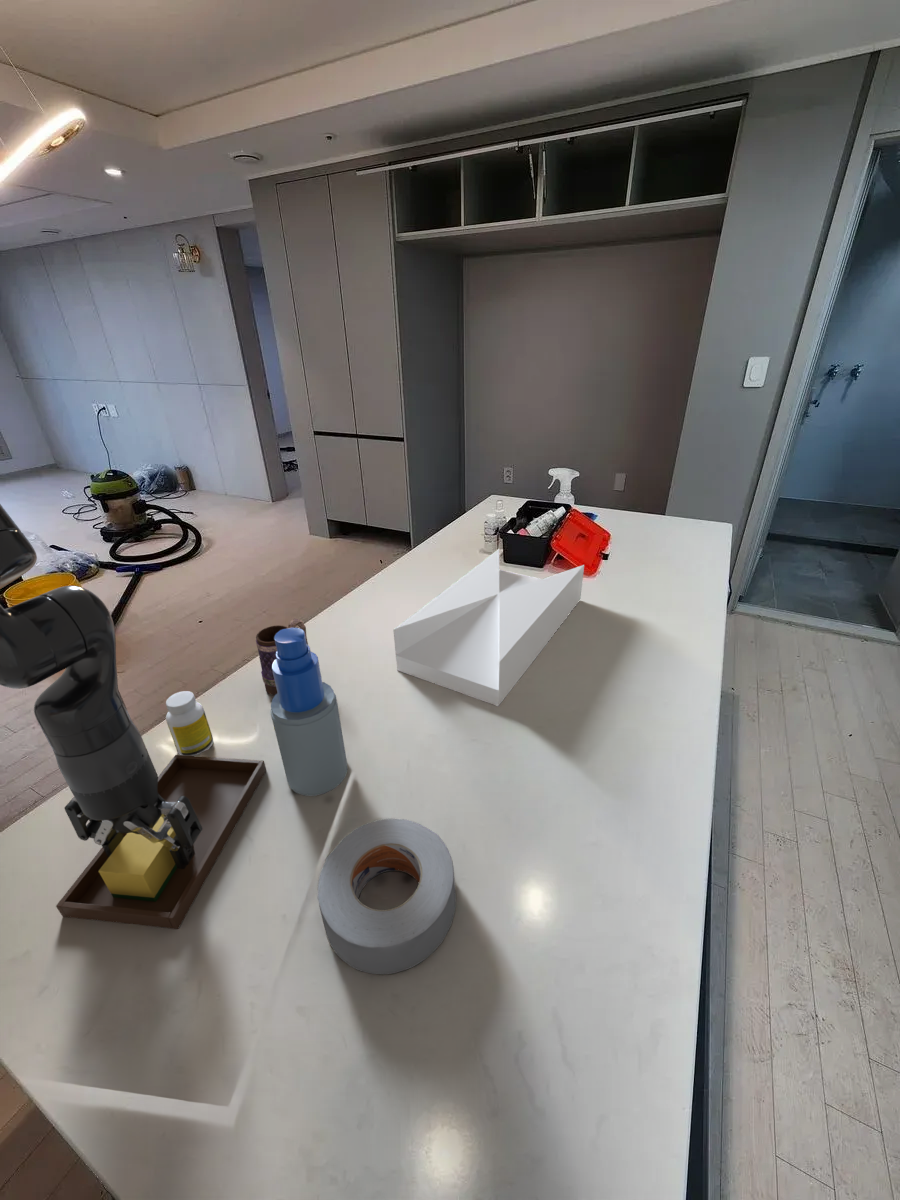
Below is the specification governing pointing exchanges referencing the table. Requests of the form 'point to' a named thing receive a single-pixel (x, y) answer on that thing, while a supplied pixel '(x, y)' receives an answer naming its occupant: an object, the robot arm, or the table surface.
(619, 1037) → the table surface
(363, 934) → the tape roll
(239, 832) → the table surface
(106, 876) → the sponge
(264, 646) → the mug
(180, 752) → the supplement bottle
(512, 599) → the building model
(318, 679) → the spray bottle
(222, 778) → the tray
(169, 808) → the robot arm
